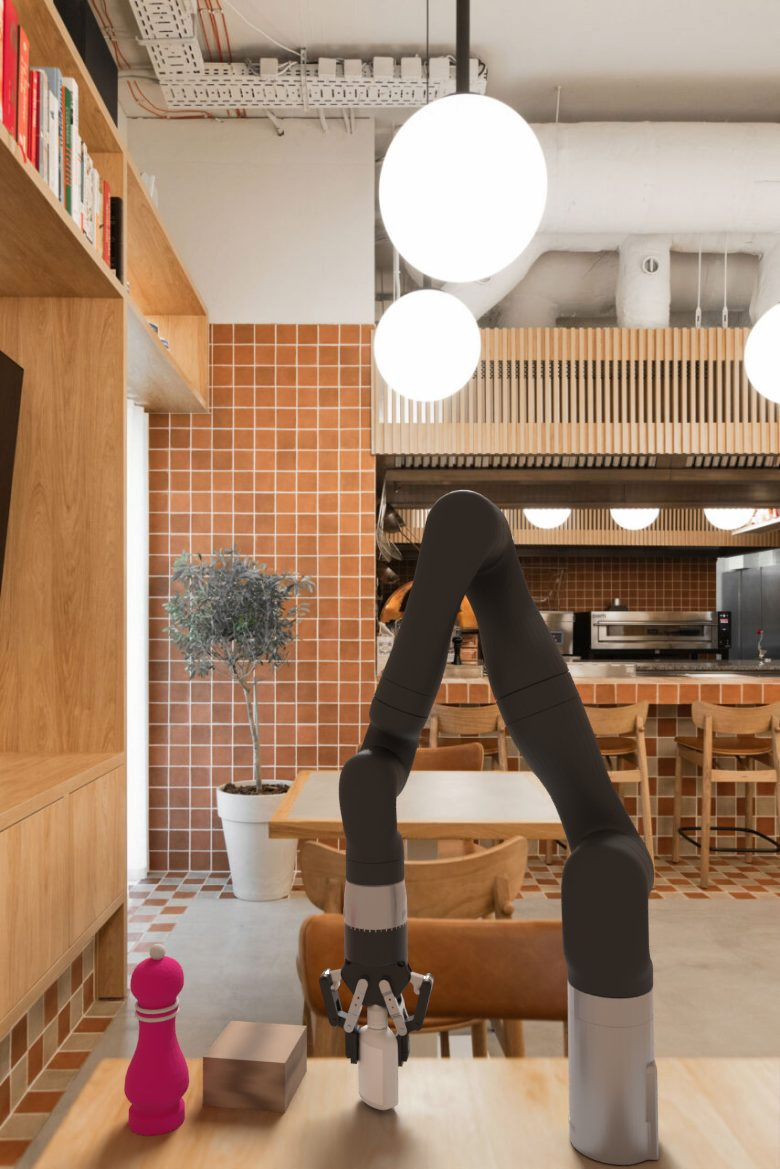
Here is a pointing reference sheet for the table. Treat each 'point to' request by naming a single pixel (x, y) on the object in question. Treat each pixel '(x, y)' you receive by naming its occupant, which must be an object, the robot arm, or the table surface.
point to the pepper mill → (156, 1048)
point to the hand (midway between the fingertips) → (377, 1061)
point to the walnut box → (255, 1066)
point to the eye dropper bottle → (378, 1061)
